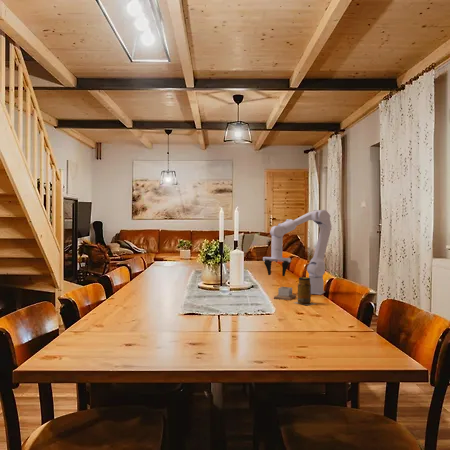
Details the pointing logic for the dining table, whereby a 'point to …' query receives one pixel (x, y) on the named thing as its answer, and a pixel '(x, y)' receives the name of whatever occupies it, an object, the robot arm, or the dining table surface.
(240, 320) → the dining table surface
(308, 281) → the condiment
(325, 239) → the robot arm
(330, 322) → the dining table surface
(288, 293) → the block with square hole
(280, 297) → the block
